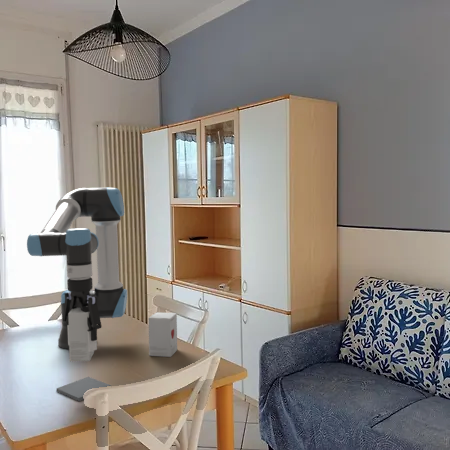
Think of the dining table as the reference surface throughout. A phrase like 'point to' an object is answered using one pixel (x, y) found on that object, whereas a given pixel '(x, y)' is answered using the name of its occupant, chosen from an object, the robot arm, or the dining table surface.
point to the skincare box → (78, 336)
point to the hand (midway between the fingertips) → (82, 347)
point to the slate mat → (80, 387)
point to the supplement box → (163, 334)
